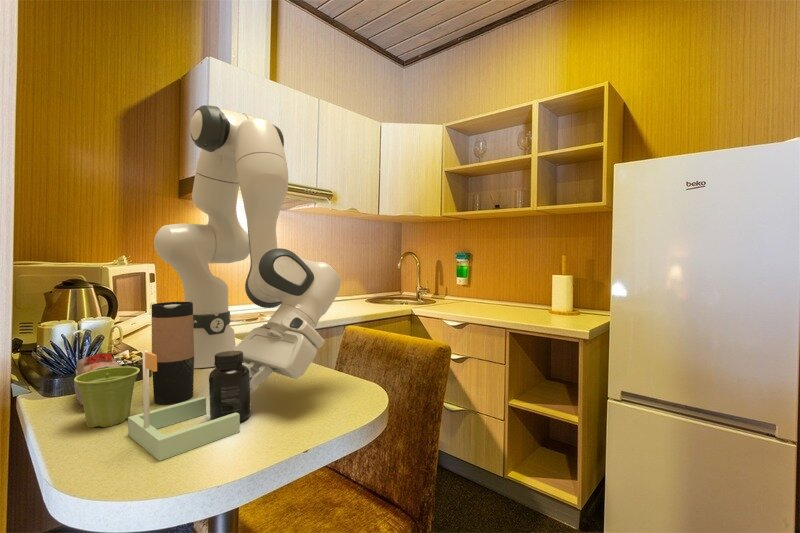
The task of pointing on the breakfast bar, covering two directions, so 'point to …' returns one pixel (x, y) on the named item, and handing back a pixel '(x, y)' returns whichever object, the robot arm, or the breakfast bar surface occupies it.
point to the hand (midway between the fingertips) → (246, 387)
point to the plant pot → (107, 394)
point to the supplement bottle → (229, 386)
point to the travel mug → (173, 352)
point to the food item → (93, 367)
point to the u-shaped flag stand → (181, 441)
